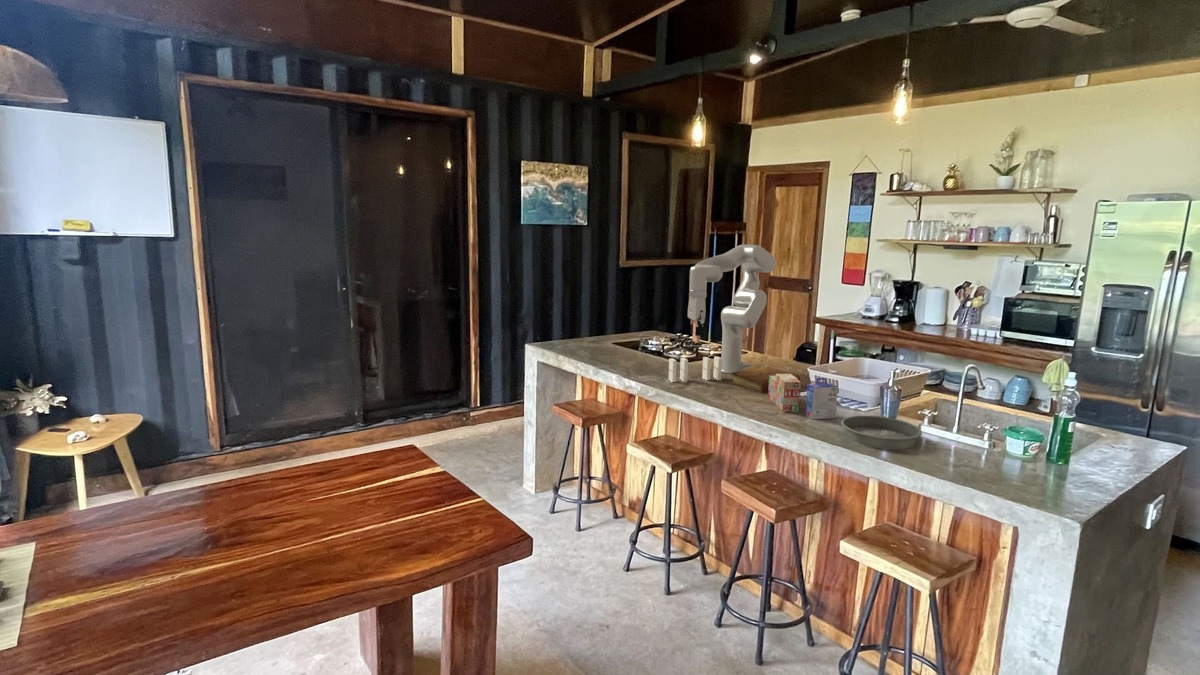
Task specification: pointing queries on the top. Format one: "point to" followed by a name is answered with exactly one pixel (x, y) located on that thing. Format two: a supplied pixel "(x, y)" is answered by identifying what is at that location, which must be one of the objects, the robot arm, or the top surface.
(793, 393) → the stack of blocks
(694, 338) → the terracotta domino
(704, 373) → the domino
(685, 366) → the domino
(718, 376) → the end domino
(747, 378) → the diary
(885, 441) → the cake pan
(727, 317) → the robot arm
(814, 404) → the ink cartridge box
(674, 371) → the head domino
